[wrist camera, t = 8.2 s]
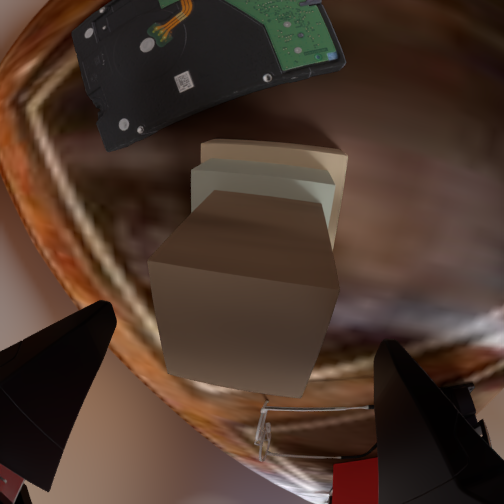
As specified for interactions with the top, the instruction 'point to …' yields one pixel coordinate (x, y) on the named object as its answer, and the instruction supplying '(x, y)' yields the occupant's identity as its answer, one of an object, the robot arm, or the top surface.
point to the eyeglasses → (266, 408)
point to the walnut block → (245, 292)
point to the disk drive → (194, 57)
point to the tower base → (286, 162)
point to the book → (355, 482)
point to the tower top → (262, 181)
